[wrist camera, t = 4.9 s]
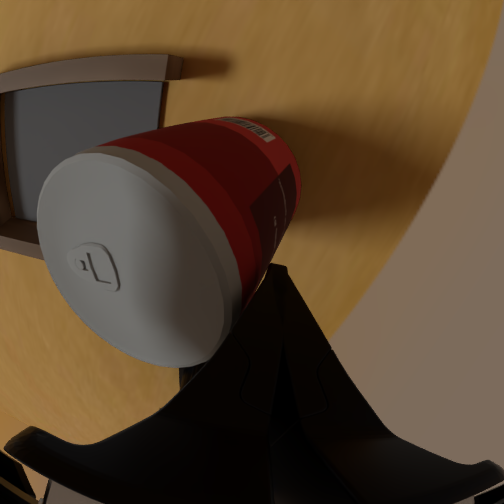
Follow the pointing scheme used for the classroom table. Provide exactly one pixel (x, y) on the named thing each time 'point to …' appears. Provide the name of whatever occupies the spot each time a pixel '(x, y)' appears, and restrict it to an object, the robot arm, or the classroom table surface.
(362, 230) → the classroom table surface
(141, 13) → the classroom table surface
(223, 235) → the canned food
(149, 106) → the mat
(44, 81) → the cradle
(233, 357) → the robot arm
